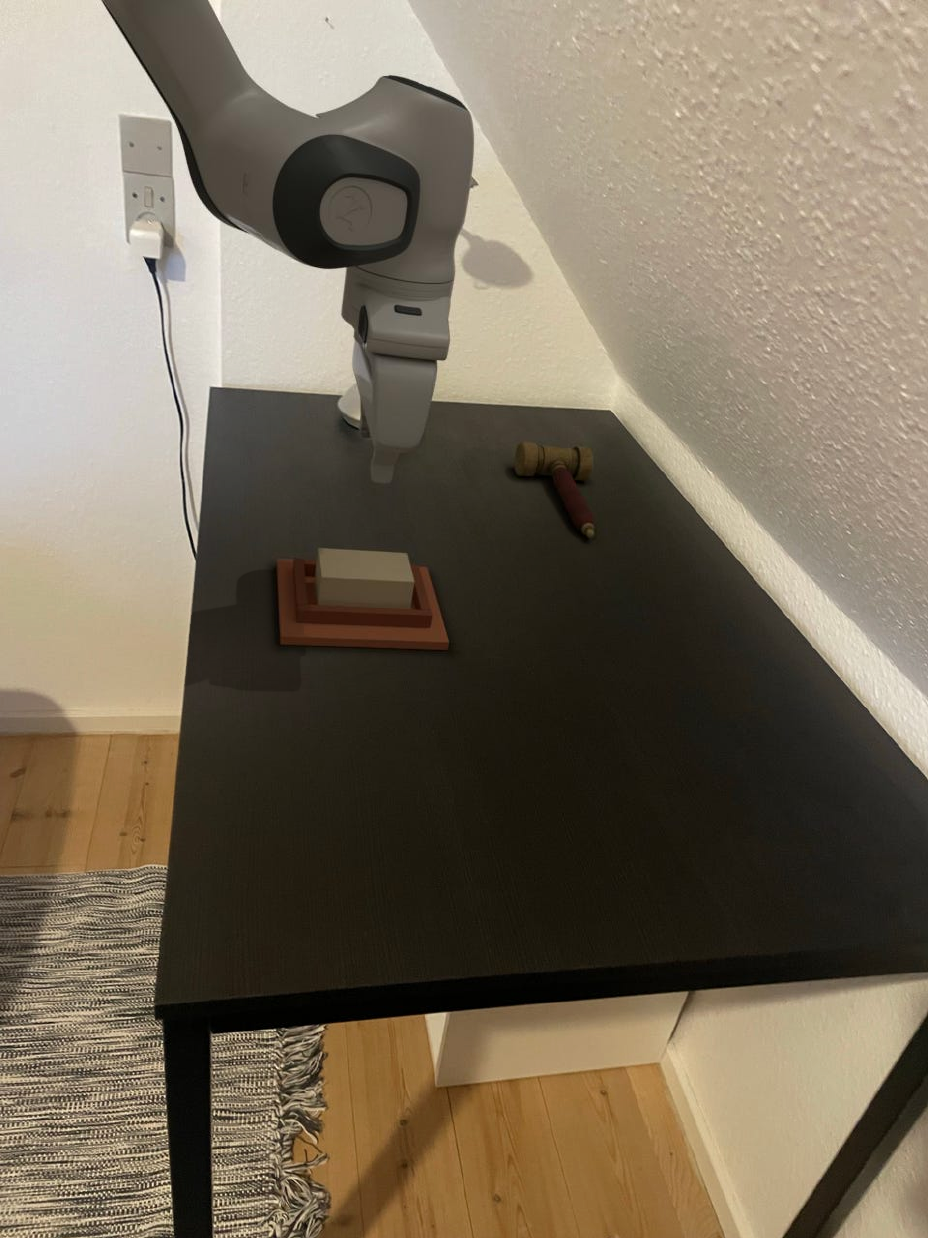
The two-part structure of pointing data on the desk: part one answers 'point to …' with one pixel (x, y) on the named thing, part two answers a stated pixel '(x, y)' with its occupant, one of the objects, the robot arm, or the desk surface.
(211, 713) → the desk surface
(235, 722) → the desk surface
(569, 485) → the gavel
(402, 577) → the top pad
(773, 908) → the desk surface
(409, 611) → the base pad
